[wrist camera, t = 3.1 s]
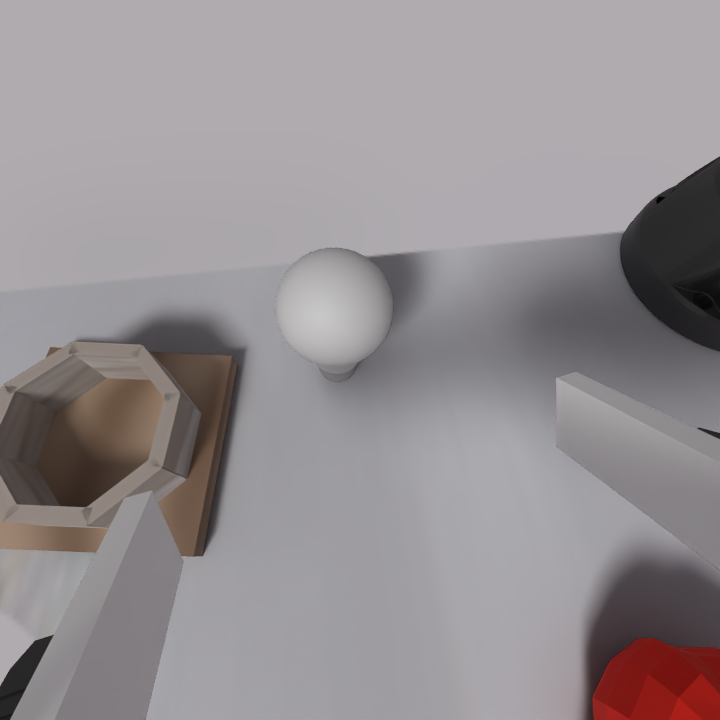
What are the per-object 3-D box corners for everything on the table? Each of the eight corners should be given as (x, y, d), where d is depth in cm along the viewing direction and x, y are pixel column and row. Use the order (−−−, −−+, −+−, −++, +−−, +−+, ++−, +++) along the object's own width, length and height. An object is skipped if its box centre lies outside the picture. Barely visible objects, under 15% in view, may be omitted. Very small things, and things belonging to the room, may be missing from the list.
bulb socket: (237, 365, 28) (216, 329, 24) (202, 556, 23) (167, 557, 19) (64, 356, 28) (10, 320, 24) (-10, 547, 23) (-97, 546, 18)
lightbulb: (299, 328, 30) (275, 216, 20) (382, 334, 30) (400, 224, 20) (288, 408, 27) (253, 326, 17) (379, 414, 27) (399, 334, 17)
